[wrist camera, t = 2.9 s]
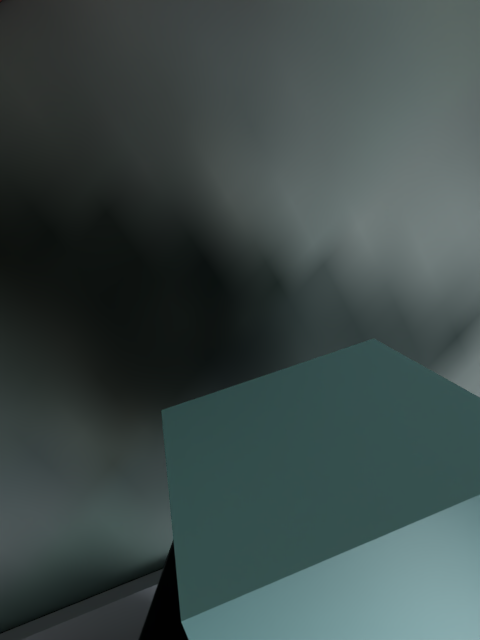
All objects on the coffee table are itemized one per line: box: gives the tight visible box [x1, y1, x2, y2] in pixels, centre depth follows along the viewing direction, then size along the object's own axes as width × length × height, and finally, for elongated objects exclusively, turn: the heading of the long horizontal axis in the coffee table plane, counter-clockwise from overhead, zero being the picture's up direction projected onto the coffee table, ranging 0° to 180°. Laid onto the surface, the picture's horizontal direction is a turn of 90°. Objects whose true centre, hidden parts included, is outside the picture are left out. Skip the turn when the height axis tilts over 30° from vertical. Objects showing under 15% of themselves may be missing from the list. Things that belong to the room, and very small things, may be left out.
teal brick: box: [161, 339, 480, 640], centre depth 7 cm, size 5×5×4 cm
